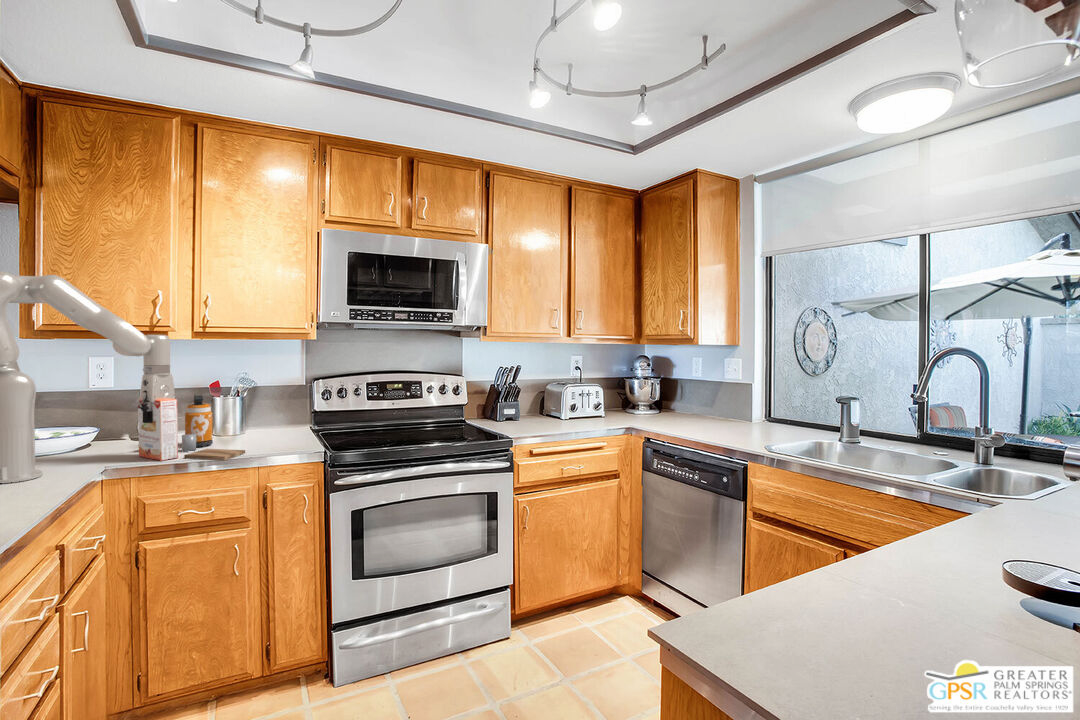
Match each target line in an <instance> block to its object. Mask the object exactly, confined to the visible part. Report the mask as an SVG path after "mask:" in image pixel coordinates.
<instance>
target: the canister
mask: <svg viewBox="0 0 1080 720" xmlns="http://www.w3.org/2000/svg"><path fill="white" fill-rule="evenodd" d="M203 401H204V396H203V395H202V393H200V394H198V395H197V394H194V397H193V400H192V401H189V402H186V405H187V406H186V413H185V414H184V435H185V434H196V448H202V447H201V446H205V447H208V446H210V445H212V444H213V442H214V441H213V437H214V435H213V412H212V408H211V407H212V406H211V404H209V403H203ZM207 445H208V446H207Z"/></svg>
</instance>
